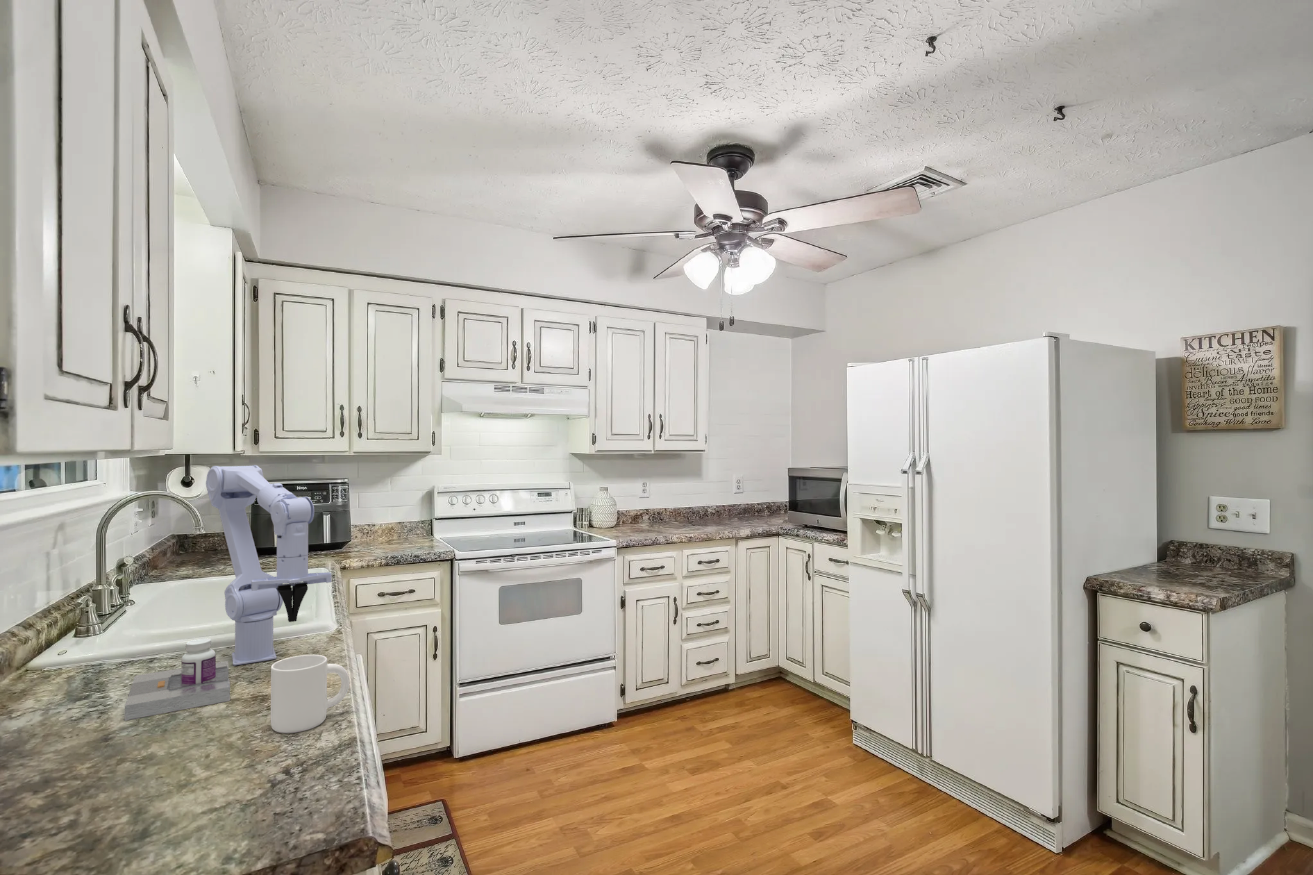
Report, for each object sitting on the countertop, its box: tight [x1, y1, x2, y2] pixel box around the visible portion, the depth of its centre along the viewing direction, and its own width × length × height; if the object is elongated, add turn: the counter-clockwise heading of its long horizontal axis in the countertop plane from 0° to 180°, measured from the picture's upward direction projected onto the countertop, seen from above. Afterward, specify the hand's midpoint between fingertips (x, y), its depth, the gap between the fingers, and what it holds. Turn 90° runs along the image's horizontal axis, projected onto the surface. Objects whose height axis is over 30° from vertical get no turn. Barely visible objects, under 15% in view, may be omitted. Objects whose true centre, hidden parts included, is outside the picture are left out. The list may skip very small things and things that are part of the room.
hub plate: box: [124, 660, 231, 721], centre depth 121 cm, size 18×15×3 cm
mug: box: [270, 654, 351, 734], centre depth 110 cm, size 12×8×10 cm
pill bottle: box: [180, 637, 217, 686], centre depth 123 cm, size 5×5×10 cm
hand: (292, 620), depth 135 cm, fingers closed
